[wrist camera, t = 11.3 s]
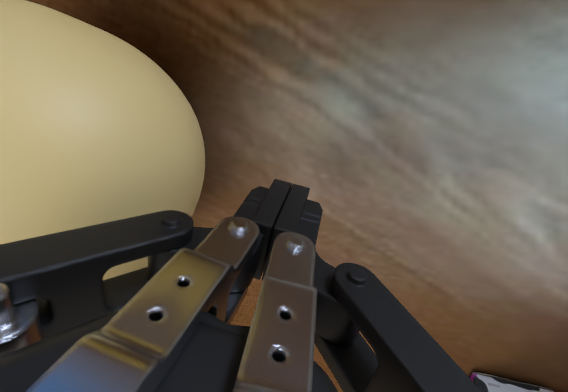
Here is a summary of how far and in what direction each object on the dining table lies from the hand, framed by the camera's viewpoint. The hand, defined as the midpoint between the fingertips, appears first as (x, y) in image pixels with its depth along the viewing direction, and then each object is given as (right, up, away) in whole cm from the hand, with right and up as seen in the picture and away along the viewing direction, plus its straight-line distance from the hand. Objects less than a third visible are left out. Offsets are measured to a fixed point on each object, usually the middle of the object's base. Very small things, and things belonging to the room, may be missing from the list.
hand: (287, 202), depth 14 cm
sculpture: (-9, +4, +5) cm, 11 cm away
